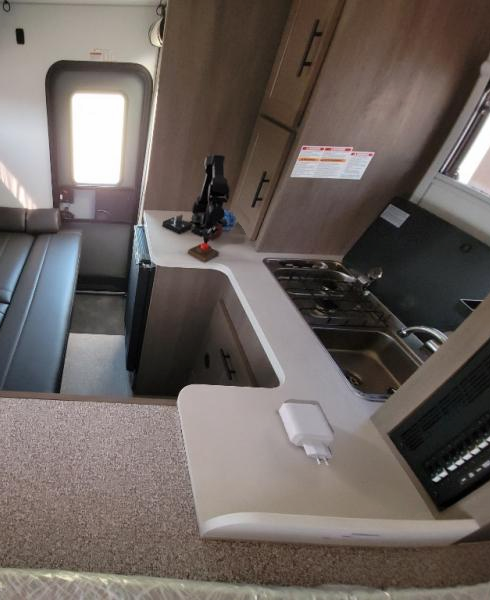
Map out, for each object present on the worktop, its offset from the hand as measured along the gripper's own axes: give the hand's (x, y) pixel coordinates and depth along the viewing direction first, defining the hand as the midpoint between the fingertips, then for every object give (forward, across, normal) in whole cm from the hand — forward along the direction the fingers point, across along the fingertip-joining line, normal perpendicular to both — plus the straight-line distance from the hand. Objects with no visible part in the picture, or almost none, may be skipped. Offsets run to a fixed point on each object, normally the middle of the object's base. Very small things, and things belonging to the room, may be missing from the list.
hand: (205, 243), depth 152 cm
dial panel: (+6, -12, -27) cm, 30 cm away
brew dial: (+3, -12, -27) cm, 30 cm away
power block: (+6, 0, 0) cm, 6 cm away
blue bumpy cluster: (+6, -28, -9) cm, 30 cm away
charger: (+6, +54, +75) cm, 93 cm away
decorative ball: (+6, -16, -8) cm, 19 cm away
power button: (+3, 0, 0) cm, 3 cm away
